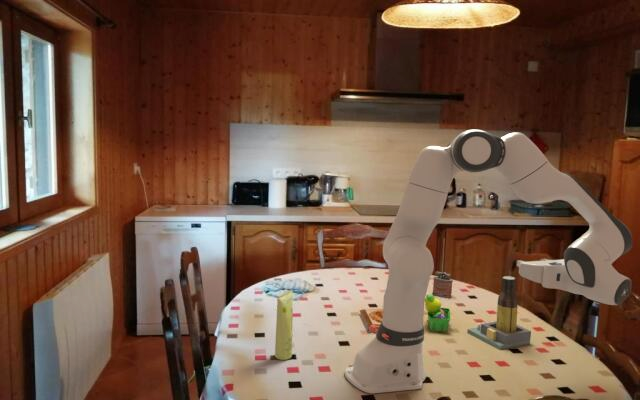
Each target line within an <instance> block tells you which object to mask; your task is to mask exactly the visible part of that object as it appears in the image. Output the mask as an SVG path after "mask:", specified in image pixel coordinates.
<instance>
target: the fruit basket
mask: <svg viewBox="0 0 640 400" xmlns="http://www.w3.org/2000/svg"><path fill="white" fill-rule="evenodd" d="M424 308H425V310H426V311H427V319H428V323H429V329H430V331H435V332H444V333H446V332H447V329H448V325H449V323H450V321H451V319H452V318H451V309H450V308H447V307H442V303H441V301H440V300H439V299H438V298H436V296H434V295H432V294H426V296H425V303H424Z"/></svg>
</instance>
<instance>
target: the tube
mask: <svg viewBox="0 0 640 400" xmlns="http://www.w3.org/2000/svg"><path fill="white" fill-rule="evenodd" d="M275 324H276V325H275V327H276V328H275V343H274V344H275V345H274V347H275V348H274V356H275V358H276V359H277V360H282V361H286V360H289V359H291V358H292V357H293V289H290V290H289V291H286V292H284V293H283V294H281V295H279V296H278V297H277V306H276V323H275Z"/></svg>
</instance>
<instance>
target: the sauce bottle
mask: <svg viewBox="0 0 640 400" xmlns="http://www.w3.org/2000/svg"><path fill="white" fill-rule="evenodd" d="M501 279H502V280H501V281H502V288H501V289H502V290H501V292H500V293H499V295H498V297H497V307H496V308H497V309H496V310H497V311H496V321H497V323H496V329H497V330H499V331H502V332H504V333H512V332H516V325H518V324H517V321H518V300H519V299H518V297H517V295H516V293H515V287H516V286H515V283H516V277H514V276H511V275H508V276H507V275H506V276H503V277H502V278H501Z"/></svg>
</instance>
